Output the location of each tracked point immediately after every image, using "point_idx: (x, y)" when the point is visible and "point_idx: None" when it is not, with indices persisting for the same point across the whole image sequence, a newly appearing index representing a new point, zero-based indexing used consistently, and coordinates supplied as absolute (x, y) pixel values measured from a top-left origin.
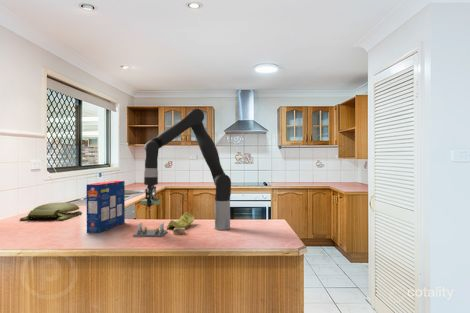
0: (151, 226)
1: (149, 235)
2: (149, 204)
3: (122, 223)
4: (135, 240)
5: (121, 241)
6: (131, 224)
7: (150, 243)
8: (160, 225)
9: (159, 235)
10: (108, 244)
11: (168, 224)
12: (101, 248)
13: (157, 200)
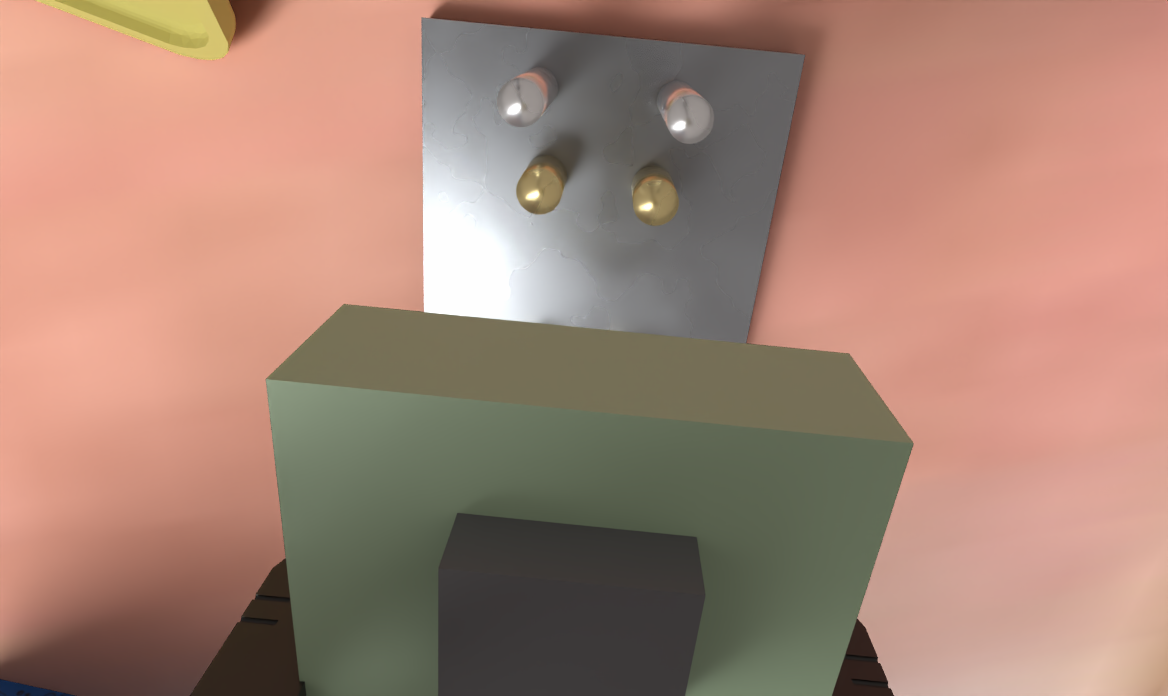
0: (88, 339)
1: (758, 268)
2: (867, 656)
3: (27, 690)
4: (915, 407)
5: (917, 543)
6: (34, 596)
7: (1160, 182)
8: (710, 122)
9: (792, 106)
10: (1010, 631)
11: (215, 14)
12: (1154, 654)
13: (699, 504)
